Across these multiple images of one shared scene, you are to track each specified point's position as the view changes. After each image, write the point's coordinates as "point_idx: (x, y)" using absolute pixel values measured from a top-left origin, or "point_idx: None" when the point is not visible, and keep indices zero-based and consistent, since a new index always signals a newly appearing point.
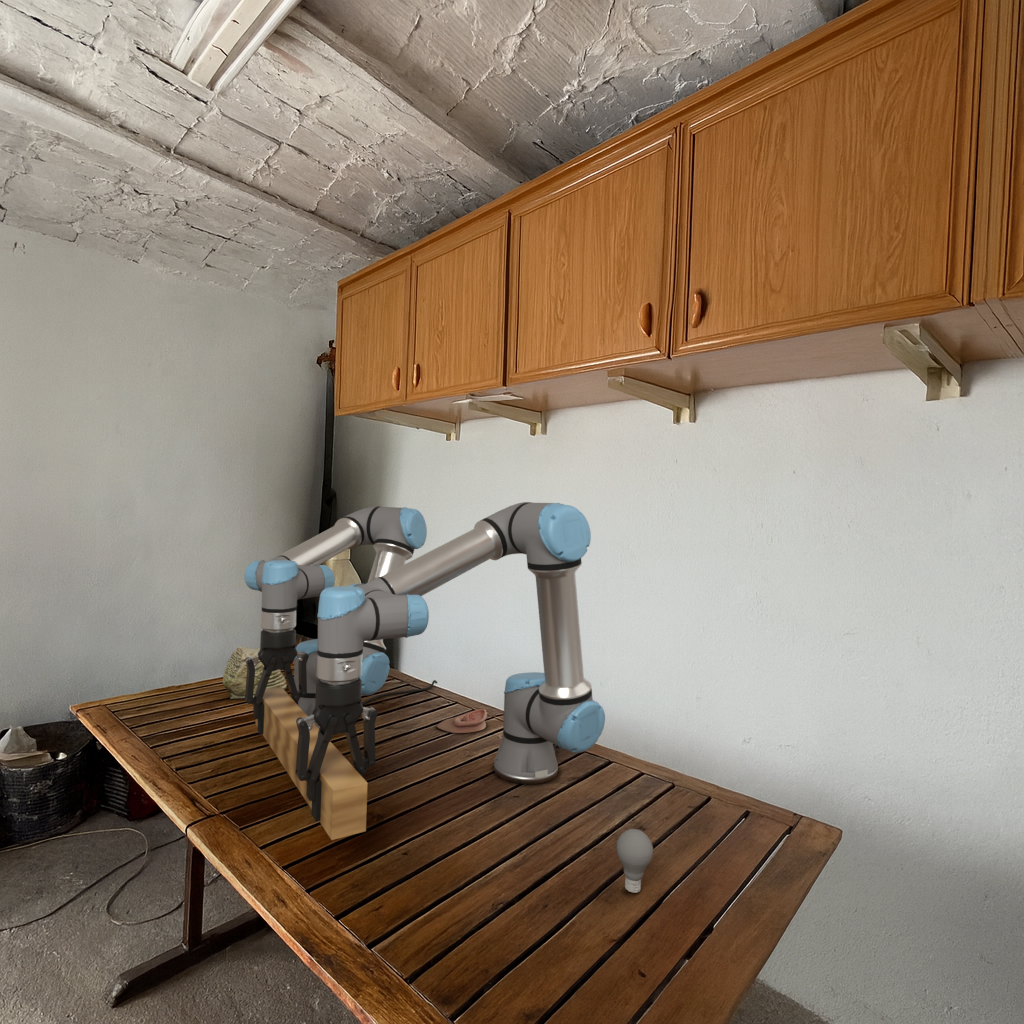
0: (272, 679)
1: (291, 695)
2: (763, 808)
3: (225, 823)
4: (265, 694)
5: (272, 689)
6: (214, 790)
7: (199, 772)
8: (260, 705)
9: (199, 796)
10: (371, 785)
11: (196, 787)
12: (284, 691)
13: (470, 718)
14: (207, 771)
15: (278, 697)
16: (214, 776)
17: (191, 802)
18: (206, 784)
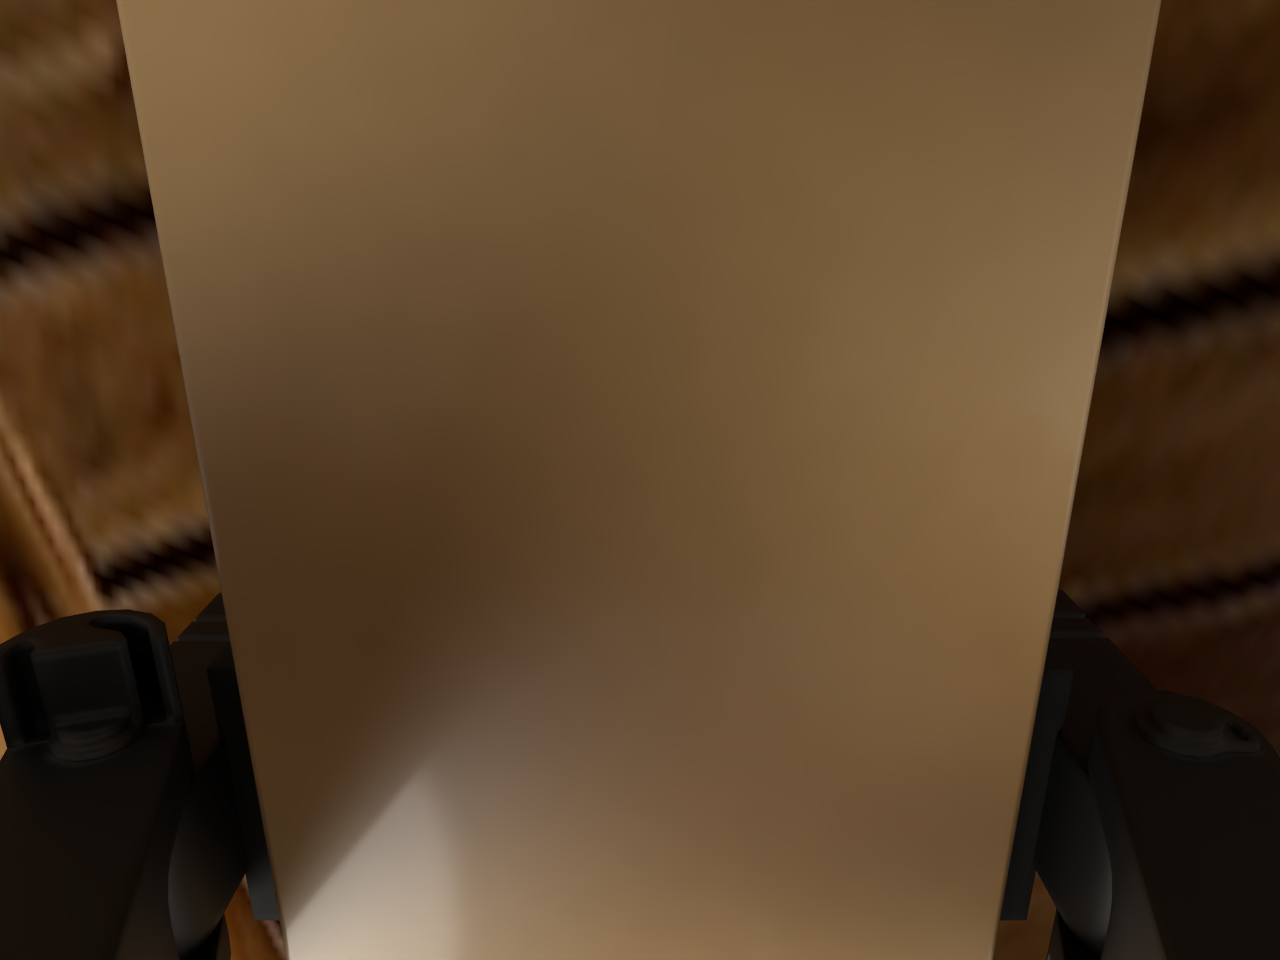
0: None
1: (1095, 787)
2: None
3: (236, 938)
4: (378, 536)
5: (732, 14)
6: (158, 497)
7: (3, 54)
8: (250, 881)
9: (56, 546)
10: None
11: (15, 381)
12: (1043, 480)
13: None
14: (76, 66)
15: (687, 932)
16: (147, 221)
17: (10, 613)
18: (90, 359)
